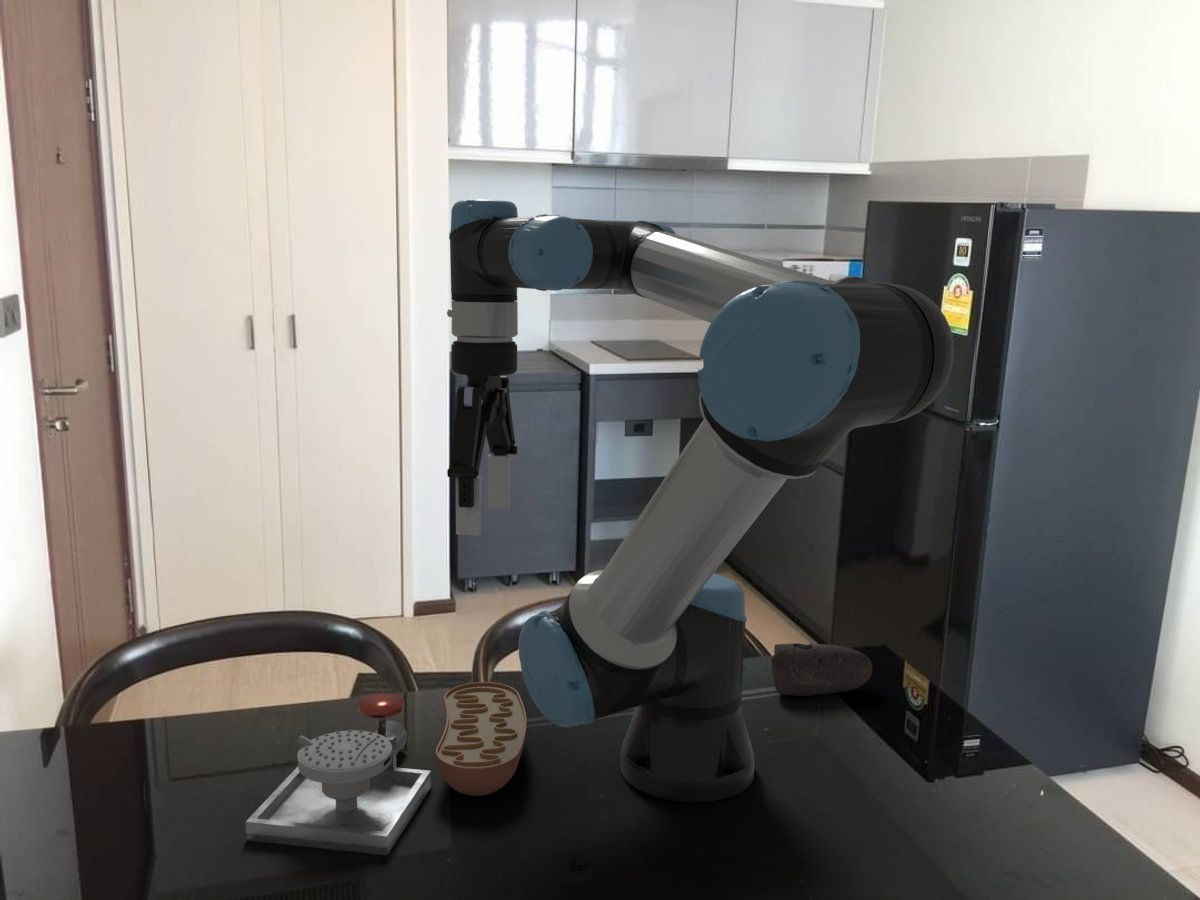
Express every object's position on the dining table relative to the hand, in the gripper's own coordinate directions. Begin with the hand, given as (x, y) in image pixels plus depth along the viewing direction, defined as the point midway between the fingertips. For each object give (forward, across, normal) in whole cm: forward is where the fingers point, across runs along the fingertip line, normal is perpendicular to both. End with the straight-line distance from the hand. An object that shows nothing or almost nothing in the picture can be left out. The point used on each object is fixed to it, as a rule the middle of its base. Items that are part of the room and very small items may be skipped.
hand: (484, 520), depth 123 cm
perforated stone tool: (+27, -21, +41) cm, 53 cm away
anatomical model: (+27, +7, +2) cm, 28 cm away
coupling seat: (+27, +17, -10) cm, 33 cm away
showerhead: (+26, +21, -9) cm, 35 cm away
